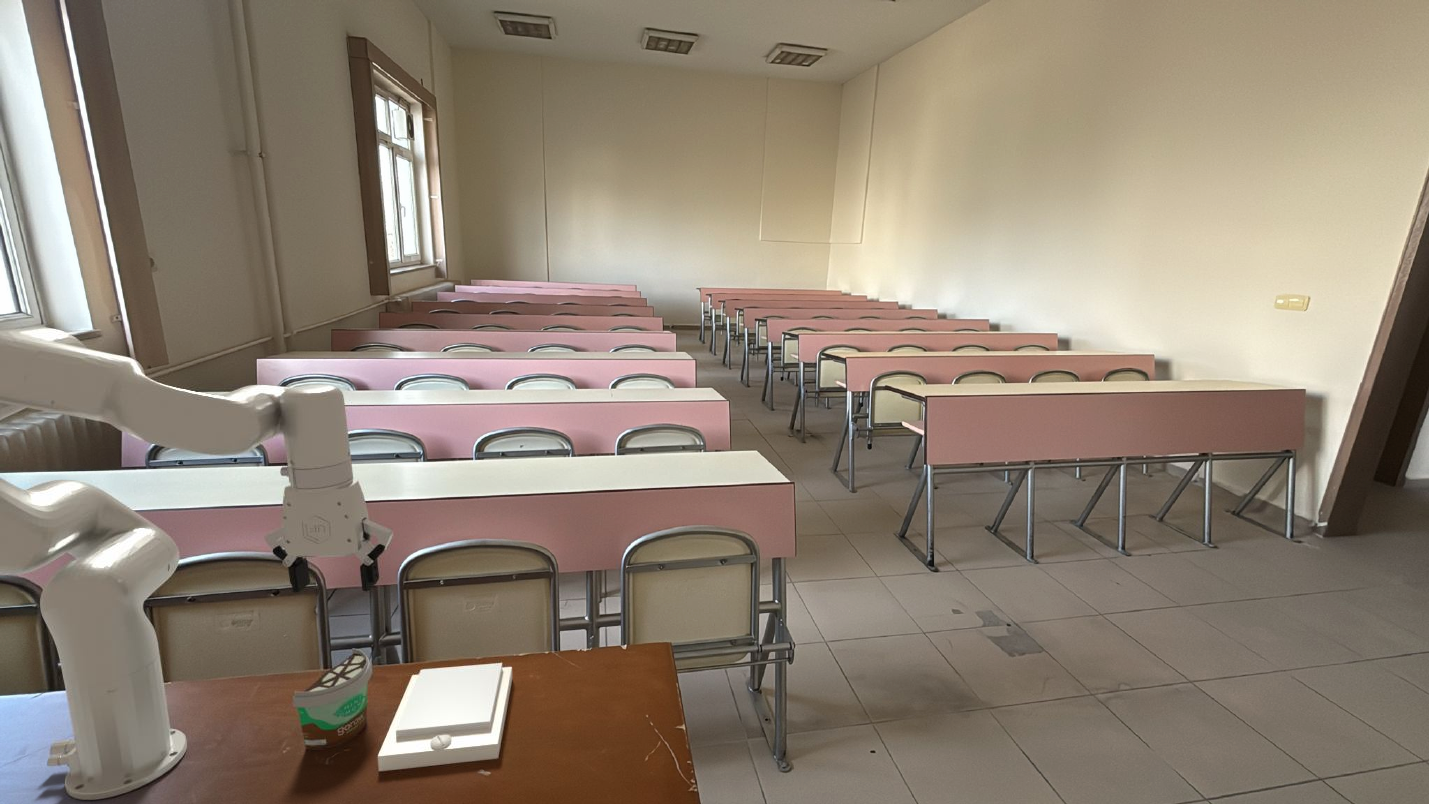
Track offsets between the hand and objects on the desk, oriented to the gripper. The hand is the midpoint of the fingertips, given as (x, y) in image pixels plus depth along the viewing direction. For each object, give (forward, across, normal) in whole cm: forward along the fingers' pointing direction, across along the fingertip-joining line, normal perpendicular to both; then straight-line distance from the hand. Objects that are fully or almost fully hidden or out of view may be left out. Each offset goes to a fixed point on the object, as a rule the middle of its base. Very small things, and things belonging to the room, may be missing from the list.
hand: (336, 587), depth 94 cm
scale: (+24, +14, +3) cm, 28 cm away
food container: (+24, -1, 0) cm, 24 cm away
